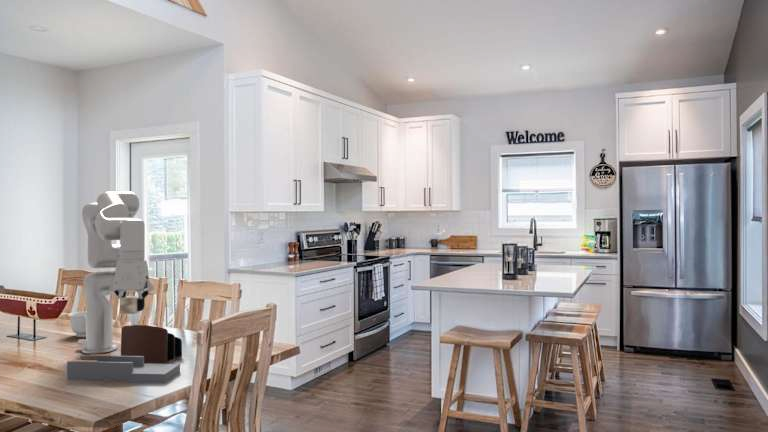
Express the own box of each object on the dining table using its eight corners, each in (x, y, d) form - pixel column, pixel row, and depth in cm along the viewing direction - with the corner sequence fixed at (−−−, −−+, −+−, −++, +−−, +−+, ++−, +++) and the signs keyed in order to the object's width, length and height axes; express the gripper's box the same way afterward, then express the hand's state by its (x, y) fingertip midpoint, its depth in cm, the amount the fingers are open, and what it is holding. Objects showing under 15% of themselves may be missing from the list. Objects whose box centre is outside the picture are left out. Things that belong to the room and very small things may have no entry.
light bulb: (132, 331, 257) (132, 308, 257) (123, 330, 260) (123, 306, 260) (144, 329, 262) (145, 306, 262) (136, 327, 266) (136, 304, 266)
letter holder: (166, 365, 202) (166, 327, 202) (119, 361, 207) (119, 324, 207) (182, 358, 212) (182, 321, 212) (137, 355, 217) (137, 319, 217)
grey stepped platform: (63, 381, 183) (63, 362, 182) (85, 370, 195) (85, 352, 194) (164, 383, 181) (164, 364, 181) (180, 372, 193) (180, 354, 193)
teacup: (71, 341, 238) (71, 317, 238) (65, 334, 250) (65, 312, 250) (102, 337, 246) (102, 314, 246) (95, 331, 258) (95, 309, 257)
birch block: (120, 313, 182) (120, 298, 182) (127, 310, 187) (127, 295, 187) (134, 313, 182) (134, 298, 182) (142, 310, 187) (142, 296, 187)
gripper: (101, 256, 182) (101, 311, 182) (151, 257, 181) (151, 312, 181) (113, 254, 189) (113, 307, 190) (162, 255, 189) (162, 308, 189)
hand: (132, 309), depth 185 cm, fingers closed on birch block, 5 cm apart
